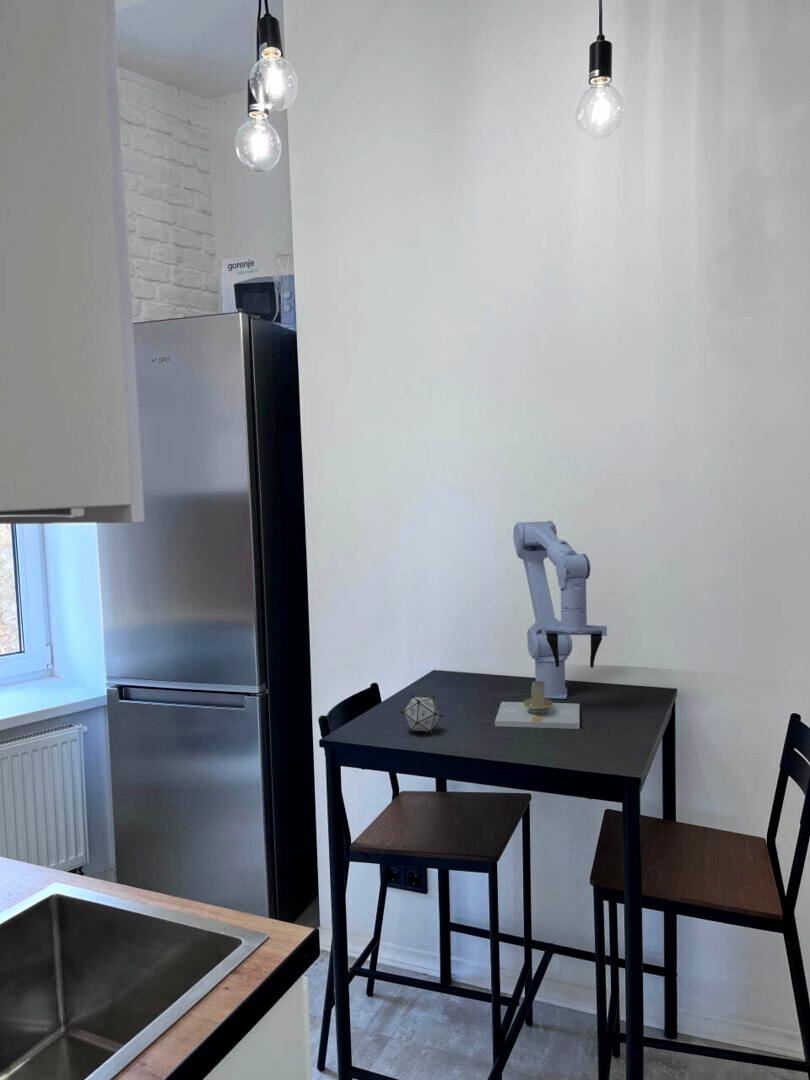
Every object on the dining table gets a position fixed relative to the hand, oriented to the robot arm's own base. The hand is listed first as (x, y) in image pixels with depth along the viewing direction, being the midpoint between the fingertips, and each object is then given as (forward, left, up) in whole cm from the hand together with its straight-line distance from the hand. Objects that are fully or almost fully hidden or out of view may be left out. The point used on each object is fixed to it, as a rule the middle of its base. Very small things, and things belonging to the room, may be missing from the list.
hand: (574, 666), depth 193 cm
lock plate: (+6, -8, -10) cm, 14 cm away
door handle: (+6, -8, -8) cm, 13 cm away
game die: (+20, -32, -11) cm, 39 cm away
